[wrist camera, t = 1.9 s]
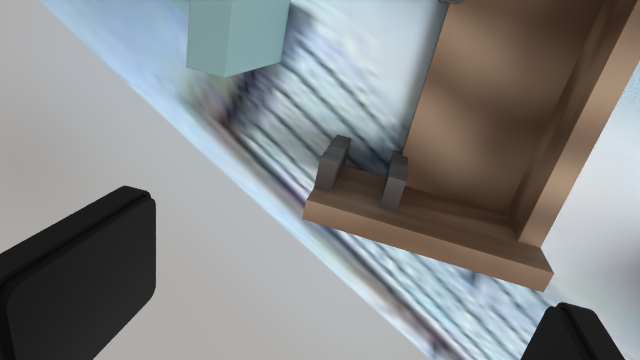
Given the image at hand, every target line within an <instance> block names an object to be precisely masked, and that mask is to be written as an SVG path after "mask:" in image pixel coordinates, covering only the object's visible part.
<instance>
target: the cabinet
mask: <svg viewBox="0 0 640 360" xmlns="http://www.w3.org/2000/svg"><path fill="white" fill-rule="evenodd" d="M439 1H440V2H444V3H449V6H448V9H447V12H446V15H445V19H444V22H443V25H442V28H441V31H440V34H439V38H438V41H437V44H436V47H435V50H434V54H433V57H432V60H431V63H430V66H429V69H428V73H427V76H426V79H425V82H424V85H423V89H422V92H421V95H420V98H419V101H418V104H417V108H416V111H415V114H414V117H413V120H412V124H411V127H410V130H409V133H408V136H407V139H406V143H405V146H404V149H403V152H398V151H395V150H394V152H393V155H392V158H391V162H390V165H389V168H388V171H387V175H386V177H385V176H382V175H378V174H375V173H371V172H367V171H364V170H360V169H357V168H353V167H350V166H346V165H345V161H346V157H347V153H348V149H349V145H350V141H351V138H347V137H343V136H340V135H337V136H336V137H335V139H334V140H333V141H332V143H331V144H330V145H329V147H328V148H327V150H326V151H325V152H324V154H323V155H322V156H321V158H320V163H319V168H318V172H317V177H316V181H315V186H314V189H313V190H312V192H311V194H310V195H309V197H308V198H307V200H306V205H305V210H304V214H303V219H305V220H308V221H311V222H314V223H318V224H321V225H324V226H328V227H331V228H334V229H337V230H341V231H344V232H347V233H351V234H354V235H357V236H360V237H364V238H367V239H370V240H373V241H377V242H380V243H383V244H387V245H390V246H393V247H396V248H400V249H403V250H406V251H410V252H413V253H416V254H419V255H423V256H426V257H429V258H432V259H436V260H439V261H442V262H446V263H449V264H452V265H455V266H459V267H462V268H465V269H469V270H472V271H475V272H478V273H482V274H485V275H488V276H491V277H495V278H498V279H501V280H505V281H508V282H511V283H514V284H518V285H521V286H524V287H528V288H531V289H534V290H537V291H541V292H544V290H545V288H546V287H547V285H548V283H549V281H550V280H551V278H552V276H553V274H554V273H553V271H552V269H551V267H550V265H549V263H548V261H547V260H546V258H545V256H544V254H543V252H542V250H541V248H540V247H541V245H542V244H543V242H544V240H545V238H546V236H547V234H548V232H549V230H550V228H551V227H552V225H553V223H554V221H555V219H556V217H557V215H558V213H559V211H560V210H561V208H562V206H563V204H564V202H565V200H566V198H567V196H568V195H569V193H570V191H571V189H572V187H573V185H574V183H575V181H576V179H577V178H578V176H579V174H580V172H581V170H582V168H583V166H584V164H585V162H586V161H587V159H588V157H589V155H590V153H591V151H592V149H593V147H594V145H595V144H596V142H597V140H598V138H599V136H600V134H601V132H602V130H603V128H604V127H605V125H606V123H607V121H608V119H609V117H610V115H611V113H612V111H613V110H614V108H615V106H616V104H617V102H618V100H619V98H620V96H621V94H622V93H623V91H624V89H625V87H626V85H627V83H628V81H629V79H630V78H631V76H632V74H633V72H634V70H635V68H636V66H637V64H638V62H639V61H640V0H439Z"/></svg>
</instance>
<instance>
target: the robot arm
mask: <svg viewBox="0 0 640 360" xmlns="http://www.w3.org/2000/svg"><path fill="white" fill-rule="evenodd" d="M155 288H156V203H155V201H154V199H152V198H151V195H150V193H149V192H147V191H145V190H141V189H137V188H133V187H129V186H122V187H120V188H118V189H116V190H115V191H113V192H111V193H109V194H107V195H106V196H104V197H102V198H100V199H98V200H96V201H95V202H93V203H91V204H89V205H87V206H86V207H84V208H82V209H80V210H79V211H77V212H75V213H73V214H71V215H69V216H68V217H66V218H64V219H62V220H61V221H59V222H57V223H55V224H53V225H51V226H50V227H48V228H46V229H44V230H42V231H40V232H39V233H37V234H35V235H33V236H32V237H30V238H28V239H26V240H24V241H22V242H21V243H19V244H17V245H15V246H13V247H12V248H10V249H8V250H6V251H4V252H3V253H1V254H0V360H93V358H95V357H96V356H97V354H98V353H99V352H100V351H101V350H102V349H103V348H104V347H105V346H106V345H107V344H108V343H109V342H110V341H111V340H112V339H113V338H114V337H115V336H116V335H117V334H118V332H119V331H120V330H121V329H122V328H123V327H124V326H125V325H126V324H127V323H128V322H129V321H130V320H131V319H132V318H133V317H134V316H135V315H136V314H137V313H138V311H140V309H141V308H142V307H143V306H144V305H145V304H146V303H147V302H148V301H149V300H150V299H151V297H152V296H153V293H154V291H155ZM521 360H625V359H624V357H623V356H622V354H621V352H620V351H619V349H618V348H617V346H616V345H615V343H614V341H613V340H612V338H611V337H610V335H609V334H608V332H607V331H606V329H605V327H604V326H603V324H602V323H601V321H600V320H599V318H598V316H597V315H596V314H595V312H594V311H592V310H590V309H587V308H583V307H579V306H575V305H572V304H568V303H564V302H562V303H559V304H558V305H557V306H556V307H553V306H551V307H549V308H547V310H546V311H545V313H544V315H543V317H542V319H541V321H540V323H539V325H538V327H537V329H536V331H535V333H534V334H533V336H532V338H531V340H530V342H529V344H528V346H527V348H526V350H525V352H524V354H523V356H522V358H521Z"/></svg>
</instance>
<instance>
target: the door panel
mask: <svg viewBox="0 0 640 360" xmlns="http://www.w3.org/2000/svg"><path fill="white" fill-rule="evenodd" d="M289 4H290V0H190V12H189V29H188V45H187V62H186V68H190V69H194V70H197V71H201V72H205V73H209V74H213V75H217V76H220V77H224V78H225V77H228V76H232V75H235V74H239V73H242V72H246V71H250V70H253V69H257V68H260V67H264V66H267V65H271V64H274V63H278V62H280V61H281V55H282V48H283V42H284V36H285V29H286V23H287V17H288V10H289Z"/></svg>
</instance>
